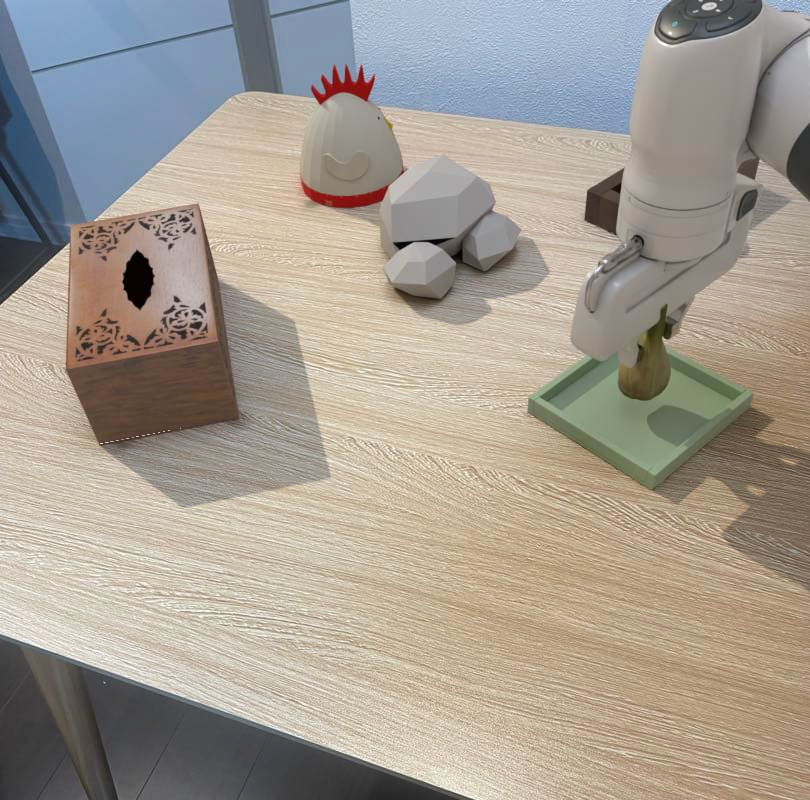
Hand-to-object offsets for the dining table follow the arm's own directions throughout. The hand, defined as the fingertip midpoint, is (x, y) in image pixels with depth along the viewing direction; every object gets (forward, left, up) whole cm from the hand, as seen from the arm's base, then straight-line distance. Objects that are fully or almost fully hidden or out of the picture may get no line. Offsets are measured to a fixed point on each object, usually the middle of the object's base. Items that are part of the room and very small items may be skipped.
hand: (648, 347), depth 86 cm
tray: (0, 0, -8) cm, 8 cm away
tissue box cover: (+43, +29, -8) cm, 53 cm away
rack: (+21, -33, -8) cm, 40 cm away
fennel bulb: (0, 0, -5) cm, 5 cm away
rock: (+35, -5, -8) cm, 36 cm away
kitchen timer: (+56, -10, -8) cm, 57 cm away
